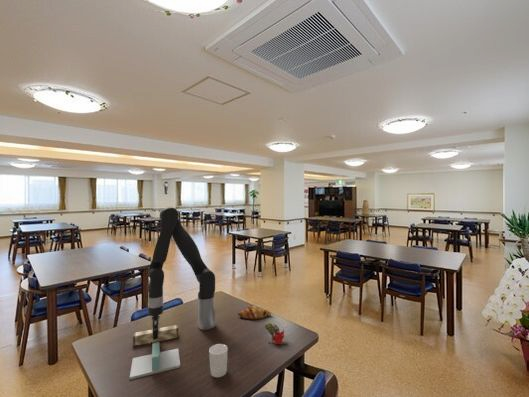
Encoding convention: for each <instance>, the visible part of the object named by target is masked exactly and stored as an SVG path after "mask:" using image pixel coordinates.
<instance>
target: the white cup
mask: <svg viewBox="0 0 529 397" xmlns="http://www.w3.org/2000/svg"><path fill="white" fill-rule="evenodd" d="M228 349H229V348H228V345H226V344H224V343H216V344H213V345H211V347H209V350H208V355H209V356H208V357H209V358H208V360H209V368H210V375H211V376H212V377H214V378H221V377H224V376H225V375H226V374H227V372H228V368H227V367H228Z"/></svg>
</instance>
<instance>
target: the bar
mask: <svg viewBox="0 0 529 397" xmlns="http://www.w3.org/2000/svg"><path fill="white" fill-rule="evenodd" d="M154 330H157V329H154ZM177 338H179V325H178V324H174V325H169V326H164V327H160V328H159V327H158V339H155V340H153V328H152V329H148V330H142V331H136V332H133V335H132V347H136V346H135V345H138V346H142V344H143V345H147V343H148V344H151V342H152V343H157V342H162V341H166V340H171V339H177Z"/></svg>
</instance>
